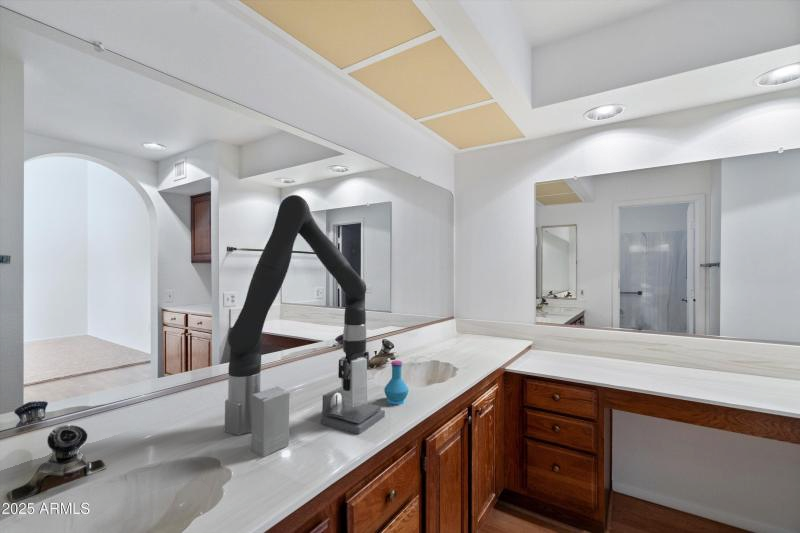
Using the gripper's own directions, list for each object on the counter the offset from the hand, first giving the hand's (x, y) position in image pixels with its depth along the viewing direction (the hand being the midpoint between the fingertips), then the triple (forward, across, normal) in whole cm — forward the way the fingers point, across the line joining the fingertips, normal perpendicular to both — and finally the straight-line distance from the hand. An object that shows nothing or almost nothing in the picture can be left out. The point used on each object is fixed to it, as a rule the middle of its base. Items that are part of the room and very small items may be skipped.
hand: (354, 386), depth 120 cm
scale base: (+11, 0, 0) cm, 11 cm away
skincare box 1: (+11, +27, -9) cm, 31 cm away
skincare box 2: (+5, 0, 0) cm, 5 cm away
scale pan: (+9, 0, 0) cm, 9 cm away
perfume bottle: (+11, -22, +4) cm, 25 cm away
